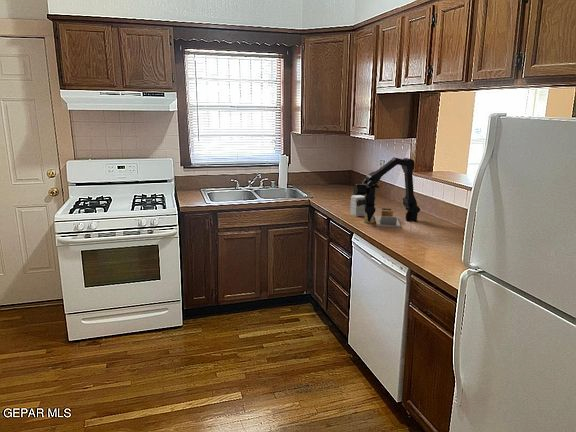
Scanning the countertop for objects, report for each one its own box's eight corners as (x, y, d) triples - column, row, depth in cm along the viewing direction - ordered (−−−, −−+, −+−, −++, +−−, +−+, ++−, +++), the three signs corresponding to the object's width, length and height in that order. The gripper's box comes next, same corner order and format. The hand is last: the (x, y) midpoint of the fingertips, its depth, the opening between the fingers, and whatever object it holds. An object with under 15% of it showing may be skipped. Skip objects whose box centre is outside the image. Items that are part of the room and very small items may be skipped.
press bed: (396, 218, 285) (397, 209, 283) (400, 227, 263) (401, 217, 262) (374, 217, 286) (375, 208, 285) (376, 226, 265) (377, 216, 263)
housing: (372, 221, 275) (373, 210, 273) (372, 223, 270) (373, 212, 269) (364, 221, 276) (364, 210, 274) (364, 223, 271) (365, 212, 269)
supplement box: (359, 213, 296) (360, 194, 293) (365, 215, 289) (366, 197, 286) (349, 213, 293) (351, 195, 290) (355, 216, 287) (356, 197, 283)
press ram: (391, 215, 284) (392, 208, 283) (392, 218, 277) (393, 211, 276) (380, 215, 285) (380, 207, 284) (381, 218, 278) (381, 210, 276)
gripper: (357, 191, 279) (355, 215, 283) (357, 197, 261) (355, 222, 265) (374, 192, 277) (372, 216, 281) (376, 198, 260) (374, 223, 263)
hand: (368, 219), depth 273 cm, fingers open, 8 cm apart
